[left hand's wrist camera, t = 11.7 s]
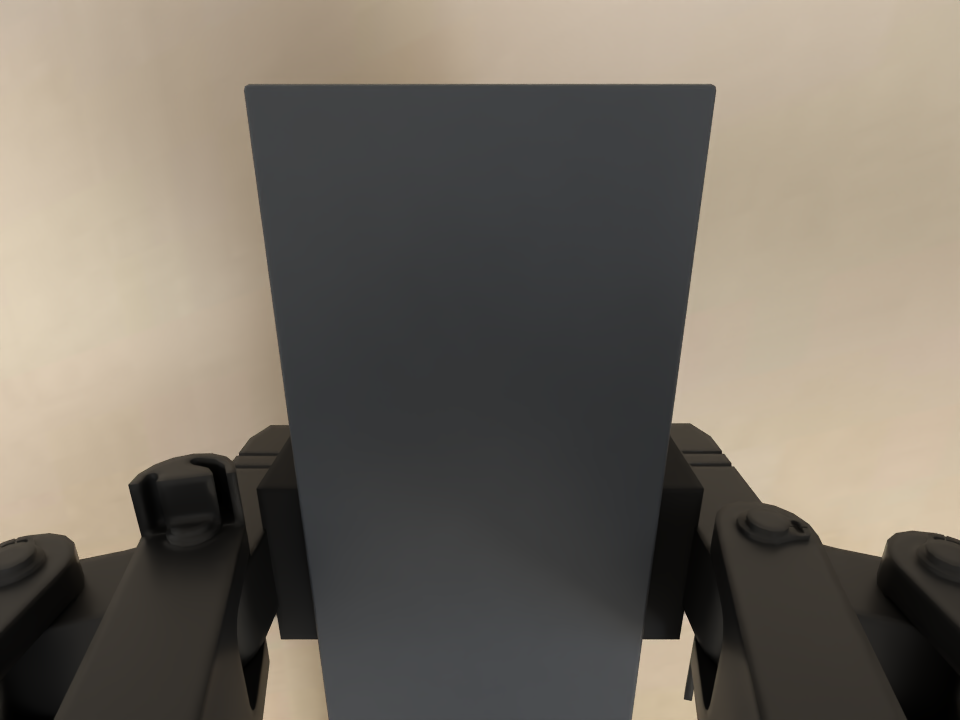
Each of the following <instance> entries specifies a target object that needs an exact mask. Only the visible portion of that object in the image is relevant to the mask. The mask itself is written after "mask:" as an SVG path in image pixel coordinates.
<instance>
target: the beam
mask: <svg viewBox="0 0 960 720" xmlns="http://www.w3.org/2000/svg"><path fill="white" fill-rule="evenodd" d="M244 94H245V101H246V108H247V116H248V123H249V131H250V138H251V146H252V153H253V160H254V168H255V175H256V183H257V190H258V198H259V205H260V212H261V220H262V227H263V235H264V242H265V249H266V257H267V264H268V272H269V279H270V287H271V294H272V301H273V309H274V316H275V324H276V331H277V339H278V346H279V353H280V361H281V368H282V376H283V383H284V391H285V398H286V405H287V413H288V420H289V428H290V435H291V443H292V450H293V457H294V465H295V472H296V480H297V487H298V495H299V502H300V509H301V517H302V524H303V532H304V539H305V547H306V554H307V561H308V569H309V576H310V584H311V591H312V599H313V606H314V613H315V621H316V628H317V636H318V643H319V651H320V658H321V665H322V673H323V680H324V688H325V695H326V703H327V710H328V717H329V720H632V713H633V705H634V698H635V690H636V683H637V675H638V668H639V661H640V653H641V646H642V638H643V631H644V623H645V616H646V608H647V601H648V594H649V586H650V579H651V571H652V564H653V556H654V549H655V541H656V534H657V527H658V519H659V512H660V504H661V497H662V489H663V482H664V474H665V467H666V460H667V452H668V445H669V437H670V430H671V422H672V415H673V407H674V400H675V393H676V385H677V378H678V370H679V363H680V355H681V348H682V340H683V333H684V326H685V318H686V311H687V303H688V296H689V288H690V281H691V273H692V266H693V259H694V251H695V244H696V236H697V229H698V221H699V214H700V207H701V199H702V192H703V184H704V177H705V169H706V162H707V154H708V147H709V140H710V132H711V125H712V117H713V110H714V102H715V95H716V87H715V86H714V85H712V84H248V85H246V86H245V88H244Z"/></svg>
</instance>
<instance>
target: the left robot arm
mask: <svg viewBox="0 0 960 720" xmlns="http://www.w3.org/2000/svg"><path fill="white" fill-rule="evenodd" d="M128 486H129V490H130V494H131V498H132V501H133V505H134V509H135V513H136V517H137V521H138V525H139V528H140V532H141V536H142V537H141V539H140V541H139V543H138V546H137V548H133V549H129V550H125V551H121V552H116V553H111V554H106V555H101V556H96V557H91V558H86V559H81V560H79V557H78V554H77V551H76V547H75V544H74V542H73V541H71V540H70V539H69V538H68V537H66V536H64V535H58V534H51V533H48V534H38V535H29V536H24V537H19V538H17V539H12V540H9V541H6V542H3V543H1V544H0V720H263V712H264V704H265V695H266V687H267V679H268V671H269V654H268V648H267V642H266V635H267V633H268V631H269V628H270V626H271V624H272V621H273V619H274V617H275V615H276V612H277V618H278V624H279V630H280V636H281V639H318V636H317V628H316V621H315V613H314V606H313V599H312V591H311V584H310V576H309V569H308V561H307V554H306V547H305V539H304V532H303V524H302V517H301V509H300V502H299V495H298V487H297V480H296V472H295V465H294V457H293V450H292V443H291V435H290V428H289V425H270V426H269V427H267V428H266V429H264V430H262V431H261V432H259V433H258V434H256V435H255V436H253V437H251V438H250V439H249V441H248V442H247V443H246V444H245V446H244V447H243V448H242V450H241V451H240V452H239V456H236V458H235V459H234V460H233V461H231V460H230V459H229V458H228V457H226V456H221V455H217V454H212V453H209V454H190V455H185V456H180V457H175V458H172V459H169V460H166V461H163V462H161V463H158V464H155V465H153V466H152V467H150V468H148V469H146V470H145V471H143V472H141V473H140V474H138V475H137V476H136V477H135V478H134V479H133V480H132V482H131V483H130V484H129V485H128ZM684 611H685V613H686V615H687V617H688V620H689V622H690V624H691V627H692V629H693V631H694V634H695V636H694V642H693V648H692V653H691V659H690V665H689V670H688V676H687V682H686V687H685V694H684V699H685V700H690V701H692V696H693V691H694V694H695V702H696V710H697V719H698V720H960V540H958V539H955V538H952V537H949V536H947V537H945V536H944V535H941V534H936V533H928V532H919V531H907V532H900V533H896V534H894V535H893V536H892V537H891V538H889V539H888V540H887V543H886V546H885V549H884V552H883V556H882V557H877V556H872V555H867V554H863V553H858V552H853V551H848V550H843V549H838V548H834V547H830V546H826V545H823V544H822V542H821V540H820V538H819V536H818V535H817V534H816V532H815V531H814V530H813V529H812V527H811V526H810V525H809V524H808V523H806V522H805V521H804V520H802V519H801V518H799V517H798V516H796V515H795V514H793V513H791V512H789V511H786V510H784V509H781V508H779V507H777V506H773V505H769V504H765V503H762V502H761V501H760V500H759V498H758V497H757V496H756V494H755V493H754V492H753V491H752V489H751V488H750V487H749V485H748V484H747V483H746V482H745V480H744V479H743V478H742V476H741V475H740V474H739V473H738V471H737V470H736V469H735V467H732V466H731V462H730V461H729V460H728V458H727V457H726V456H725V454H722V451H721V449H720V448H719V447H718V445H717V444H716V443H715V441H714V440H713V439H712V438H711V436H709V435H708V434H706V433H705V432H703V431H701V430H700V429H698V428H697V427H695V426H693V425H692V424H690V423H671V430H670V437H669V445H668V452H667V460H666V467H665V474H664V482H663V489H662V497H661V504H660V512H659V519H658V527H657V534H656V541H655V549H654V556H653V564H652V571H651V579H650V586H649V594H648V601H647V608H646V616H645V623H644V631H643V638H642V639H680V633H681V626H682V620H683V614H684Z"/></svg>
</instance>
